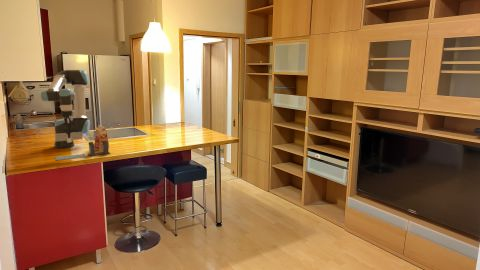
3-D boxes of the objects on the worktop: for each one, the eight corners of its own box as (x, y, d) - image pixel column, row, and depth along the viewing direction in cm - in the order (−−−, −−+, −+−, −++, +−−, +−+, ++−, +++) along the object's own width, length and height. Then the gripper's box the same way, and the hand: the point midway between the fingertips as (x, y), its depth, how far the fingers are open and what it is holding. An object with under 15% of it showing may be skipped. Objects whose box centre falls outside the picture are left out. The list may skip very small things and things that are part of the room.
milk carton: (93, 149, 276) (92, 125, 272) (103, 147, 284) (102, 123, 280) (100, 150, 271) (98, 126, 267) (110, 148, 279) (108, 125, 275)
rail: (55, 140, 245) (54, 133, 244) (82, 138, 254) (81, 131, 253) (55, 141, 242) (54, 134, 241) (82, 139, 251) (82, 132, 250)
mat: (55, 157, 250) (55, 157, 250) (84, 154, 260) (84, 153, 260) (56, 160, 242) (56, 160, 242) (86, 157, 252) (86, 156, 252)
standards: (88, 154, 260) (87, 142, 259) (108, 151, 268) (107, 140, 266) (89, 156, 255) (88, 144, 253) (110, 153, 262) (109, 142, 260)
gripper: (59, 109, 249) (62, 140, 253) (61, 112, 235) (64, 144, 240) (71, 108, 253) (73, 139, 257) (73, 111, 239) (76, 143, 243)
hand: (69, 141), depth 248 cm, fingers closed on rail, 3 cm apart
